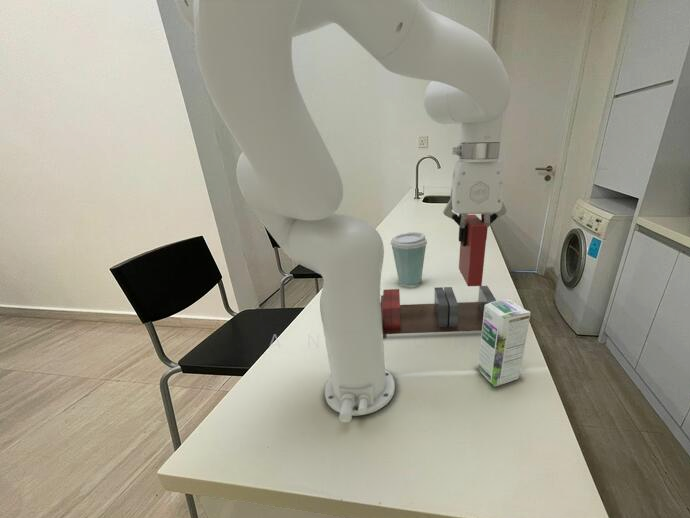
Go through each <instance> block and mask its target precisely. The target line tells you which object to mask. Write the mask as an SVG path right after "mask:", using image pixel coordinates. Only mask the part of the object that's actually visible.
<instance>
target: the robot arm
mask: <svg viewBox="0 0 690 518" xmlns="http://www.w3.org/2000/svg"><path fill="white" fill-rule="evenodd" d="M173 1H174V4H175V6H176V9H177V11H178V13H179V16H180V17H181V18H182V20H183V22H184V23H185V24H186V25H187V27H188V28H189V30H190V31H191V32H193V34H194V43H195V51H196V56H197V57H196V58H197V61H198V66H199V70H200V73H201V76H202V79H203V82H204V85H205V87H206V88H205V89H206V91H207V93H208V95H209V98H210V100H211V102H212V103H213V106H214V107H215V109H216V111H217V112H218V114H219V116H220V117H221V120H222V121H223V123H224V124H225V126H226V127H227V129H228V130H229V132H230V134H231V136H232V137H233V138H234V140H235V142H236V143H237V145H238V147H239V149H240V150H241V153H240V155H239V157H238V160H237V164H236V181H237V184H238V188H239V190H240V193H241V195H242V196H243V199H244V201H245V202H246V203H247V205H248V206H249V208H250V209H251V211H252V212H253V214H255V216H256V217H257V219H258V220H259V221H260V222H261V224H262V225H263V226H264V228H265V229H266V230H267V231H268V233H269V235H270V236H271V237H272V239H274V241H275V242H276V244H277V245H278V246H279V247H280V249H281V250H282V251H283V252H284V254H286V256H287V257H288V258H290V259H291V260H292V262H294V263H296V264H298V265H300V266H301V267H304V268H306V269H309V270H311V271H313V272H314V273H316V274H318V275H320V276H321V277H322V281H323V284H322V289H321V294H320V297H319V313H320V318H321V323H322V330H323V336H324V339H325V340H324V342H325V346H326V348H325V349H326V354H327V360H328V366H329V373H330V378H329V379H328V380H327V382H326V384H325V387H324V397H325V401H326V403H327V405H328V406H329V407H330V408H331V409H332V410H333V411H335V412H337V413H339V416H338V419H339V420H340V422H342V423H350V422H351V421H352V418H353V417H356V416H365V415H369V414H372V413H374V412H378V411H379V410H381V409H382V408H384V407H385V406H387V405H388V404H389V403H390V401H391V400H392V398H393V397H394V394H395V391H396V384H395V379H394V377H393V375H392V373H391V372H389V371H388V370H387V369H386V362H385V361H386V360H385V348H384V347H385V346H384V338H383V331H382V316H381V280H382V272H383V265H384V259H385V246H384V242H383V239H382V236H381V234H380V233H379V232H378V229H376V228H375V227H374V226H373V225H372V224H371V223H370V222H368V221H366V220H364V219H362V218H359V217H357V216H353V215H350V214H345V213H340V212H337V211H338V210H339V208H340V207H341V204H342V202H343V197H344V186H343V180H342V178H341V175H340V172H339V170H338V167H337V165H336V163H335V162H334V161H335V160H334V159H333V158H332V155H331V153H330V151H329V149H328V148H327V145H326V143H325V141H324V139H323V138H322V135H321V133H320V132H319V129H318V128H317V126H316V123H315V121H314V120H313V118H312V116H311V114H310V111H309V109H308V108H307V105H306V103H305V100H304V97H303V96H302V94H301V91H300V89H299V86H298V83H297V81H296V80H297V79H296V77H295V73H294V64H293V58H292V57H293V56H292V55H293V53H292V52H293V51H292V49H293V38H296V37H299V36H301V35H304V34H308V33H310V32H311V33H312V32H313V31H317V30H319V29H321V28H324V27H327V26H329V25H331V24H336V25H337V26H339V27H340V28H341V29H343V31H345V33H347V34H348V35H349V36H350V37H351V38H352V39H353V40H355V41H356V43H357V44H359V45H360V46H361V47H362V48H363V49H364V50H366V52H368V53H369V54H370V55H371V56H372V57H373V58H374V59H375V60H376V61H377V62H378V63H379V64H380V65H381V66H382V67H384V68H385V70H387V71H389V72H391V73H392V74H396V75H399V76H402V77H406V78H409V79H410V78H411V79H416V80H422V81H423V80H424V81H430V82H429V84H428V85H427V87H426V89H425V92H424V96H423V105H424V109H425V112H426V114H427V115H428V117H429V118H430V119H431V120H433V121H434V122H436V123H438V124H442V125H457V124H461V125H460V141H459V142H460V143H459V145H457V146H453V147H452V151H451V152H452V155H453V156H454V155H456V156H458V159H459V160H456V161H455V165H454V169H453V174H452V180H451V187H450V188H451V189H450V199H449V200H448V202H447V204H446V205H445V207H444V209H443V211H442V214H443V215H444V216H445V217H447V218H449V219H451V220H453V221H454V222H455V224H457V225H458V226H459V227H458V242H459V243H460V242H461V244H462V245H463V246H467V233H468V228H467V227H466V226H467V225H466V221H467V215H480V220H481V221H482V222H483V223H485V224H486V225H487V230H489V229H488V228H489V227H490V226H491V224H493V223H494V222H495V221H496V220H497V218H500V217H502V216H504V215H506V214H507V208H506V206H505V204H504V181H505V180H504V178H505V177H504V174H505V173H504V161H503V160H502V159H501V160H500V159H499V158H500V148H501V138H502V128H503V119H504V113H505V111H506V110H507V108H508V106H509V103H510V99H511V83H510V82H511V81H510V77H509V75H508V72H507V70H506V67H505V66H504V64H503V62H502V60H501V58H500V57H499V55H498V54H497V52H496V51H495V49H494V47H493V46H492V45H491V44H490V43H489V42H488V41H487V40H486V39H485V38H484V37H483V36H482V35H480V34H479V33H478V32H476V31H474V30H472V29H470V28H469V27H466V26H464V25H463V24H461V23H459V22H457V21H455V20H453V19H451V18H449V17H448V16H445V15H443V14H440V13H438V12H435V11H433V10H431V9H429V8H428V7H427V6H426V5H425V4H424V2H423V1H422V0H173ZM487 239H488V235H487V236H486V240H487Z"/></svg>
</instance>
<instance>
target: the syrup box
mask: <svg viewBox="0 0 690 518" xmlns="http://www.w3.org/2000/svg"><path fill="white" fill-rule="evenodd" d="M530 319H531V311H529V310H527V309H526V308H524V307H523V306H521V305H520V304H518V303H516V302H515V301H513V300H512V299H510V298H509V299H500V300H496V301H495V302H491V303H488V304H485V307H484V315H483V325H482V331H481V336H480V345H479V355H478V361H477V367H478V368H477V371H479V373H481V375H482V376H483V377H484V378H485V379H486V380H487V381H488V382H489V383H490V384H491V385H492V386H493V387H494V388H496V387H498V386H502V385H504V384H508V383H511V382H513V381H516V380H519V379H520V374H521V369H522V363H523V358H524V354H525V353H524V352H525V346H526V341H527V337H528V329H529V326H530V325H529V324H530Z"/></svg>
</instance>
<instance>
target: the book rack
mask: <svg viewBox="0 0 690 518" xmlns="http://www.w3.org/2000/svg"><path fill="white" fill-rule="evenodd" d="M478 287H479V288H478V300H477V301H469V302H465V301H464V302H458V300H457V297H456V295H455V293H454V290H453V286H446V287H434V298H433V299H434V301H433V302H434V303H416V304H415V303H413V304H412V303H411V304H401V298H400V297H401V296H400V295H401V293H400V288H391V289H390V288H389V289H383V290H382V291H383V292H382V294H380V302H381V316H382V331H383V339H386V338H387V335H400V334H401V335H402V334H404V335H405V334H428V333H430V334H432V333H457V332H480V331H481V332H482V325H483V315H484V307H485V304H488V303H491V302H495V301H497V299H496V297H495V295H494V294H493V293H492V291H491V289H490V288H489V286H488V285H482V286H478Z"/></svg>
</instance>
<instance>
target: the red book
mask: <svg viewBox="0 0 690 518" xmlns="http://www.w3.org/2000/svg"><path fill="white" fill-rule="evenodd" d="M466 225H467V226H466V227H467V228H468V233H467V246H463V245H462V244H461V242H459V258H458V269H459V271H460V274H461V275H462V278H463V280H464V281H465V283H466V286H467V287H479V286H483V275H484V264H485V254H486V245H487V239H486V236H487V237H488V229H487V225H486V224H485V223H483V222H482V221H481V218H479V217H478V215H477V214H468V215H467V221H466Z"/></svg>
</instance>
